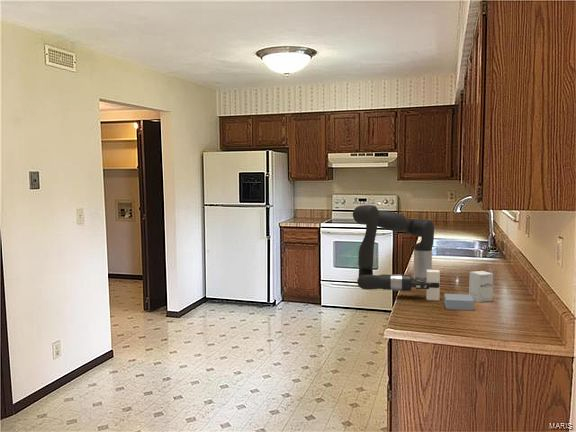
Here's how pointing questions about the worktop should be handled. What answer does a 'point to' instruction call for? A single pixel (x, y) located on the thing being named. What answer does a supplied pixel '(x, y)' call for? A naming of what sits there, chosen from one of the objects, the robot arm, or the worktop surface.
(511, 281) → the worktop surface
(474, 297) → the supplement box
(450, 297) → the plinth
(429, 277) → the cream block
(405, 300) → the worktop surface
